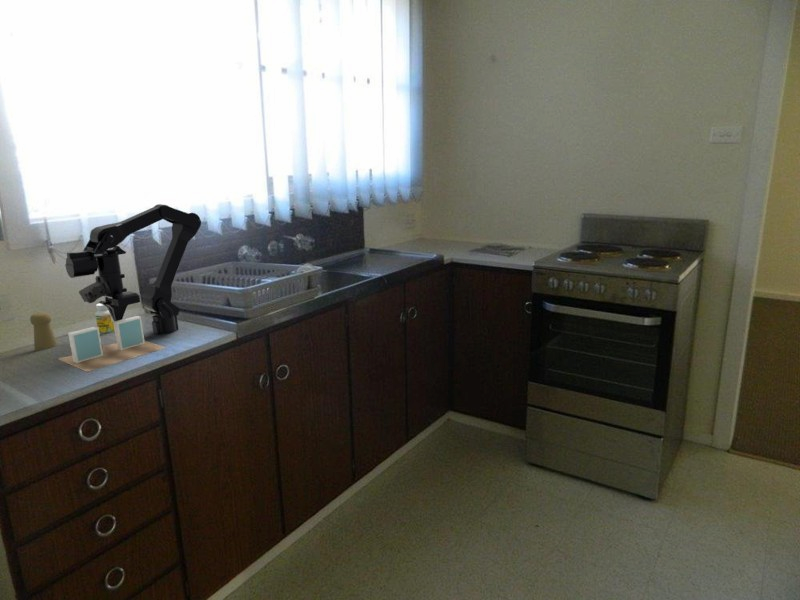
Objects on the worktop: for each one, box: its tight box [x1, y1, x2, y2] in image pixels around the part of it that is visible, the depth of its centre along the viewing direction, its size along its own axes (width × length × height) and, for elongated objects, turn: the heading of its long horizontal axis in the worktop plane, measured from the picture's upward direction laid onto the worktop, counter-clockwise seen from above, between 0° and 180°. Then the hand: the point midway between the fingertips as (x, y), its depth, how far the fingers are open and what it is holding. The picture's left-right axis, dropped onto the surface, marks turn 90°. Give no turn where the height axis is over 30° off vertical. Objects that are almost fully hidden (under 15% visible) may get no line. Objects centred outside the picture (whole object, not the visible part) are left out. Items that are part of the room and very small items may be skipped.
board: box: [57, 339, 167, 373], centre depth 162 cm, size 22×17×1 cm
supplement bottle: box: [94, 302, 115, 335], centre depth 183 cm, size 5×5×10 cm
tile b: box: [67, 325, 103, 363], centre depth 157 cm, size 7×2×8 cm, turn 142°
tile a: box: [113, 315, 145, 350], centre depth 166 cm, size 7×2×8 cm, turn 142°
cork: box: [29, 311, 58, 352], centre depth 169 cm, size 6×6×11 cm
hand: (118, 324), depth 169 cm, fingers closed
